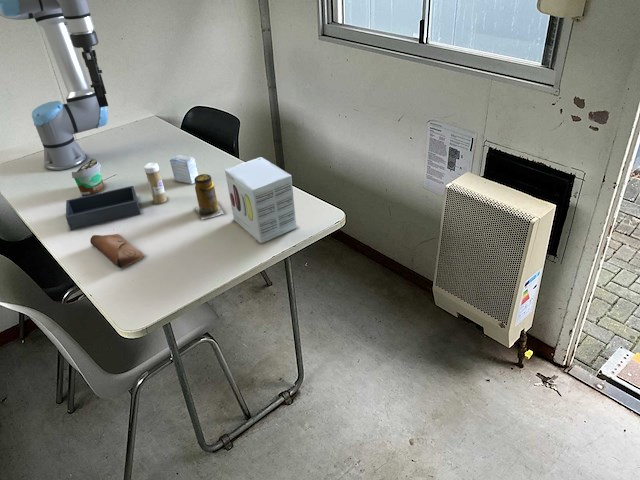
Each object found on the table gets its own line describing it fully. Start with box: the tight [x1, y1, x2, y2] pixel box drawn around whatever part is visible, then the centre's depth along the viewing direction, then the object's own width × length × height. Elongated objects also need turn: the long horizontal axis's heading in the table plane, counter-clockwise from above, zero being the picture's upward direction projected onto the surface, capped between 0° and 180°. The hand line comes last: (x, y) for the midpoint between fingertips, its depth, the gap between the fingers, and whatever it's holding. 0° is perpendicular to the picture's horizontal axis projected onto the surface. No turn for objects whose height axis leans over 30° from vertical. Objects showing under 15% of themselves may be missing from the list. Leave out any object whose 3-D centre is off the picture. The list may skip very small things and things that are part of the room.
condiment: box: [194, 173, 225, 220], centre depth 163 cm, size 7×8×12 cm
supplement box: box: [224, 156, 298, 244], centre depth 152 cm, size 17×13×18 cm
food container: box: [71, 157, 105, 197], centre depth 180 cm, size 12×6×10 cm, turn 168°
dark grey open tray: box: [65, 185, 141, 231], centre depth 168 cm, size 12×22×5 cm, turn 112°
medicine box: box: [169, 154, 199, 185], centre depth 183 cm, size 8×4×9 cm, turn 65°
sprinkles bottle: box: [143, 162, 168, 204], centre depth 170 cm, size 5×5×14 cm
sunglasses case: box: [90, 233, 145, 269], centre depth 149 cm, size 18×7×7 cm
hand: (103, 100), depth 167 cm, fingers open, 13 cm apart
